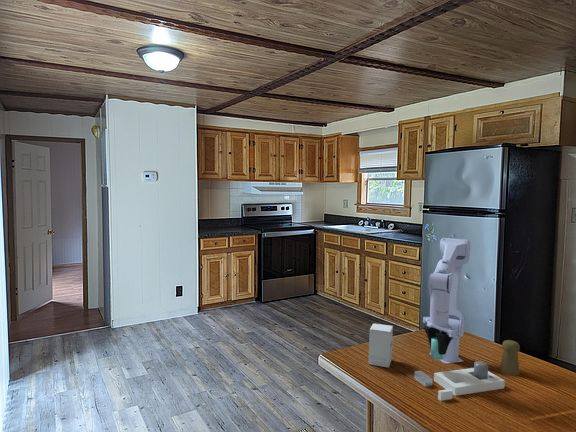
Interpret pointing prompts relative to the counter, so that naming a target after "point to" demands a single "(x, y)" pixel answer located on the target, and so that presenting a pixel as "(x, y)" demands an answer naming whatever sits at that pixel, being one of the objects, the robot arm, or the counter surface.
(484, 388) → the housing
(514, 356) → the cork
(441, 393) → the block
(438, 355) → the teal rounded block
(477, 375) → the grey rounded block
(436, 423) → the counter surface
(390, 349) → the supplement box
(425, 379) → the bar
